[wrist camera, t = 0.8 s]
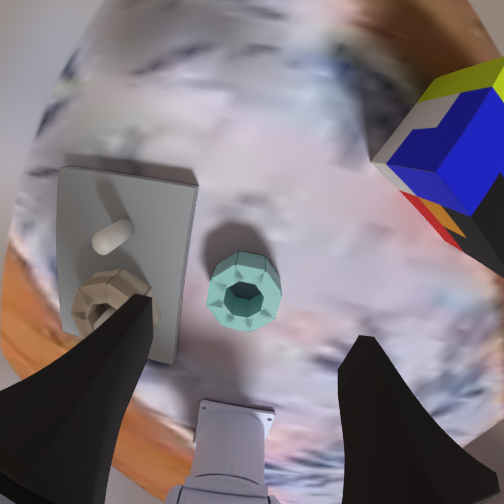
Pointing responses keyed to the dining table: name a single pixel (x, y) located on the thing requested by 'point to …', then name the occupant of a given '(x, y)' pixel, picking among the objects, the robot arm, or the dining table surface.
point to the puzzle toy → (455, 160)
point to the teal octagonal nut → (238, 309)
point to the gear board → (125, 241)
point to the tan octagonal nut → (107, 297)
